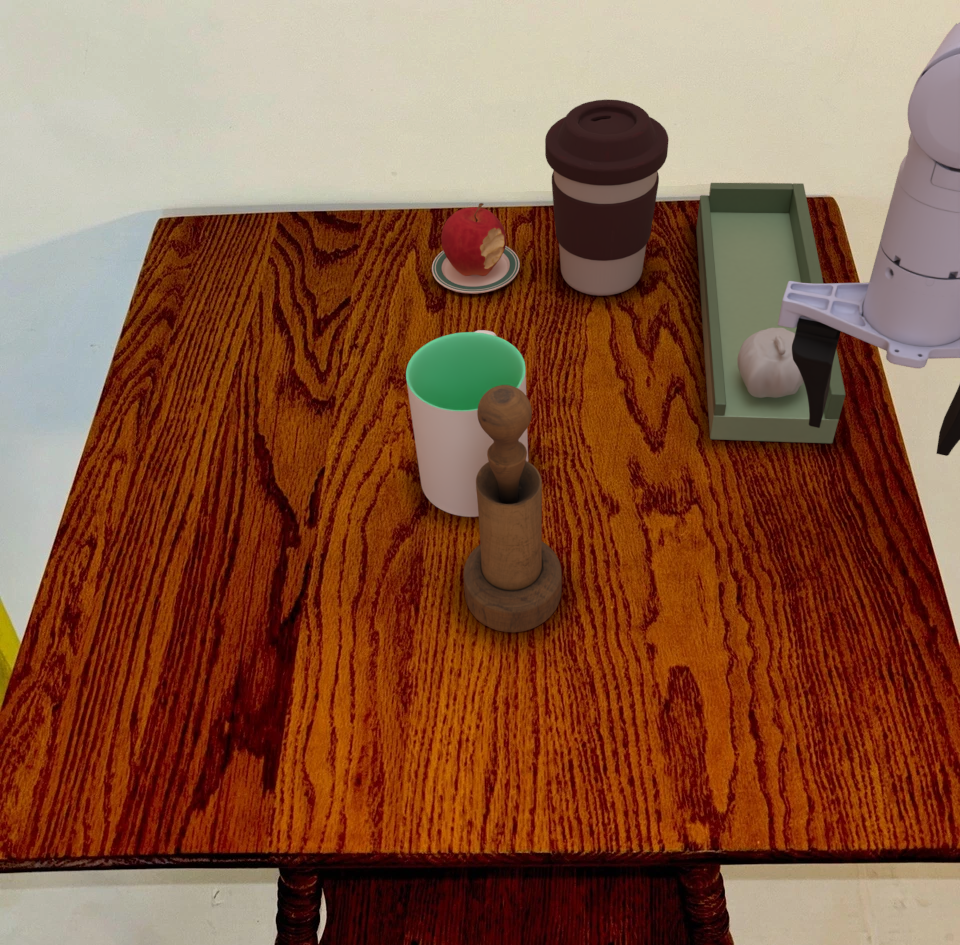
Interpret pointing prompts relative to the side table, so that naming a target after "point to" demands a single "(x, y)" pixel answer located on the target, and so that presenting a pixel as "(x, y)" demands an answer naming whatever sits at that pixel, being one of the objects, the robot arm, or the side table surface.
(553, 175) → the coffee cup
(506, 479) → the mortar and pestle
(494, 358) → the mug
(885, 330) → the robot arm
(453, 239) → the apple
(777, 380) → the garlic
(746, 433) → the tray
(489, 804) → the side table surface
